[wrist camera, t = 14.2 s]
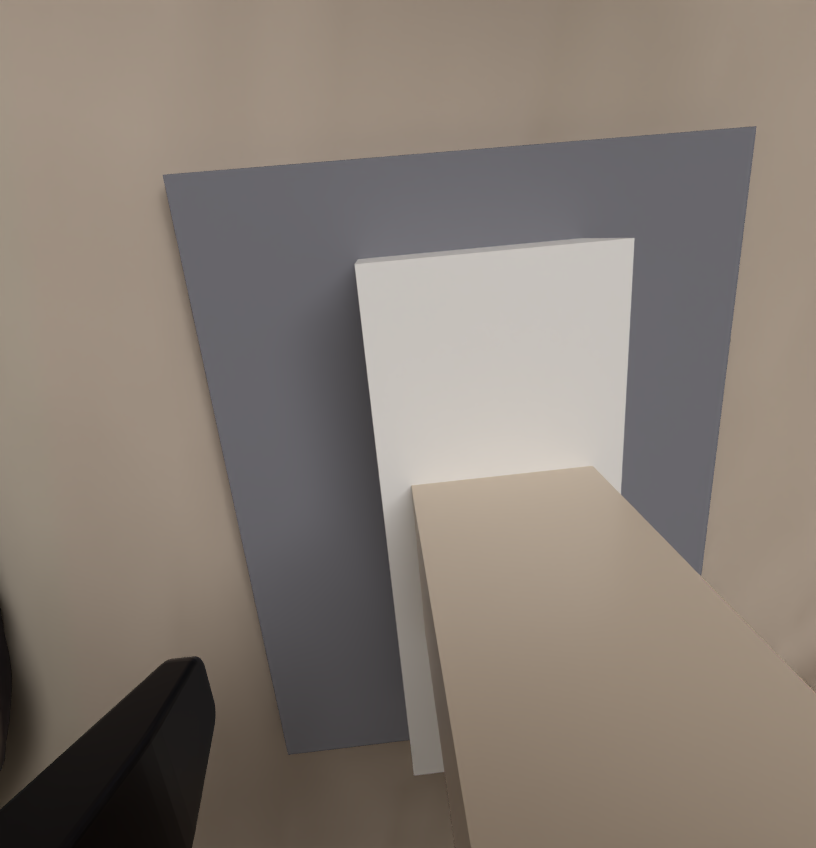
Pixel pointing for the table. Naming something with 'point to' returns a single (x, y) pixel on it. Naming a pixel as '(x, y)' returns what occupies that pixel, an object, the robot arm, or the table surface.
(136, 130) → the table surface
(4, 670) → the salad plate
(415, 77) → the table surface
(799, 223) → the table surface
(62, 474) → the table surface
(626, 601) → the plate with square knob
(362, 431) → the mat
